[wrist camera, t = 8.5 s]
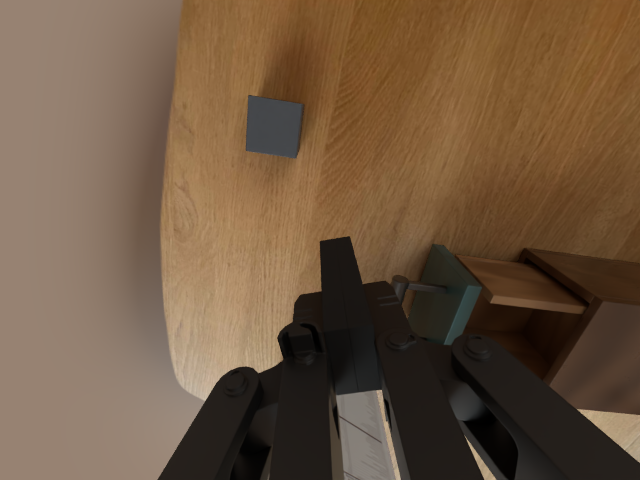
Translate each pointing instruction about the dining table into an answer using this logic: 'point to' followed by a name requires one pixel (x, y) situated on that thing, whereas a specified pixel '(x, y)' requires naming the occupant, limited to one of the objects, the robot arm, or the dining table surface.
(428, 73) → the dining table surface
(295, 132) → the block
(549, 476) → the robot arm
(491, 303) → the drawer
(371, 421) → the supplement box
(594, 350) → the cabinet
